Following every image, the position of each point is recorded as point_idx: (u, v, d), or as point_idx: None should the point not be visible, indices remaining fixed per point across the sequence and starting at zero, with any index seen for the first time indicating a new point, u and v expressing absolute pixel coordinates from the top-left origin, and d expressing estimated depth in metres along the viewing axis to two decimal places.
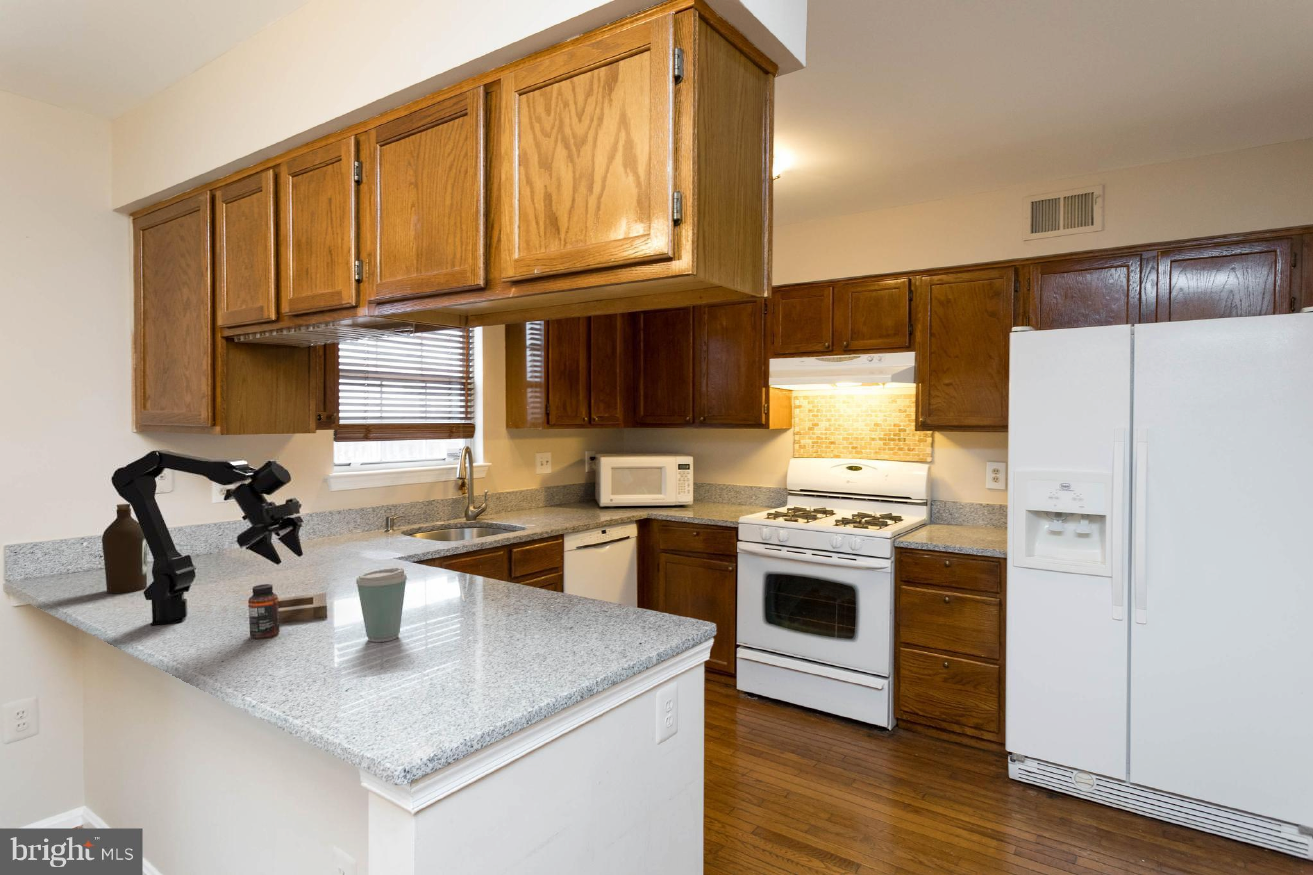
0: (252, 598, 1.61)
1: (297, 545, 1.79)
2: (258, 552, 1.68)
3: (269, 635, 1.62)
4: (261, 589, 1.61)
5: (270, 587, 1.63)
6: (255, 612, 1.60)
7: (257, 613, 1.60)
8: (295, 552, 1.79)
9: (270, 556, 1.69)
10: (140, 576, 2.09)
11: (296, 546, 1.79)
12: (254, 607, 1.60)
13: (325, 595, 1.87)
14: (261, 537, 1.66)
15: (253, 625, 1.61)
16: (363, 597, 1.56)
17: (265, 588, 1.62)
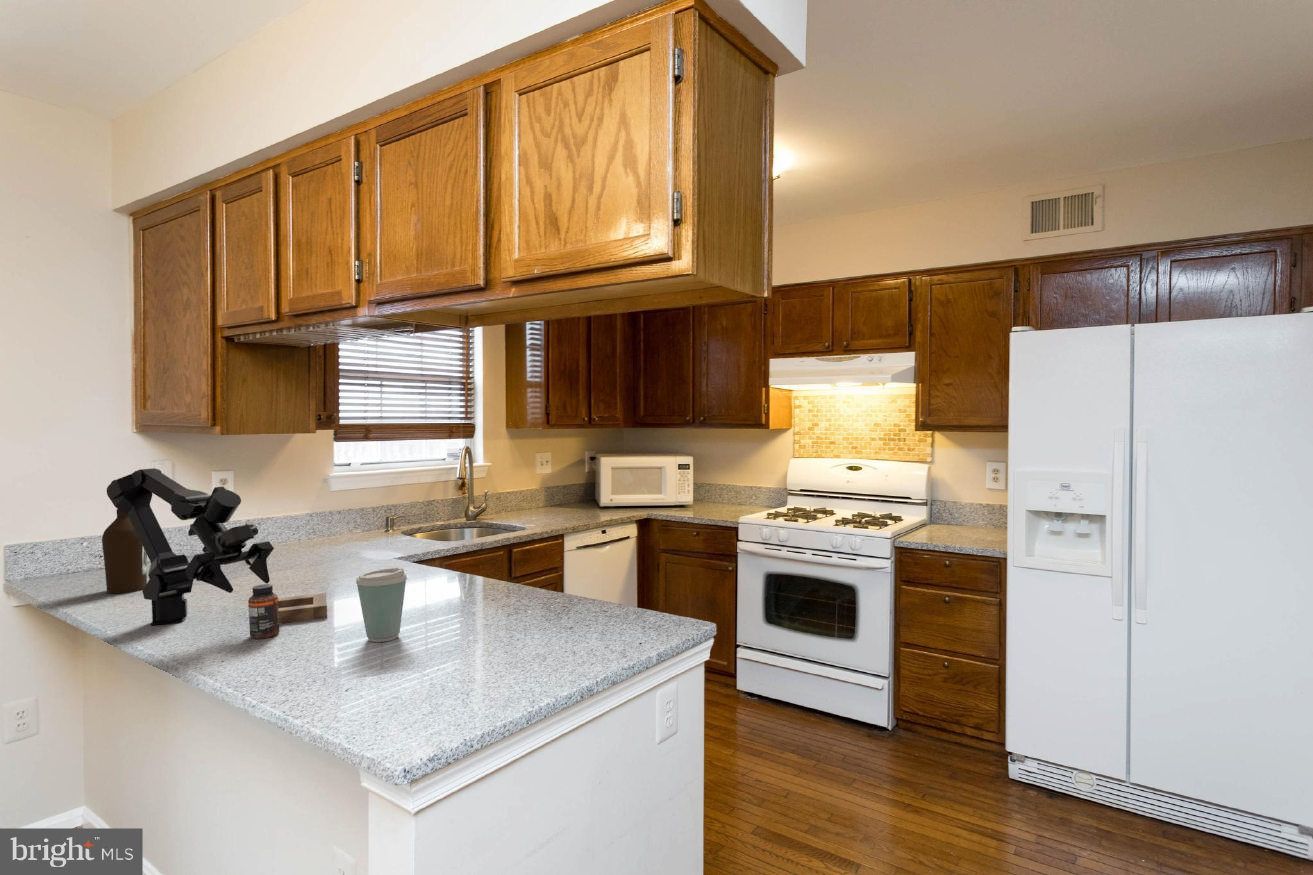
0: (252, 598, 1.61)
1: (263, 571, 1.69)
2: (210, 582, 1.61)
3: (269, 635, 1.62)
4: (261, 589, 1.61)
5: (270, 587, 1.63)
6: (255, 612, 1.60)
7: (257, 613, 1.60)
8: (263, 579, 1.69)
9: (221, 584, 1.61)
10: (140, 576, 2.09)
11: (262, 573, 1.70)
12: (254, 607, 1.60)
13: (325, 595, 1.87)
14: (205, 566, 1.59)
15: (253, 625, 1.61)
16: (363, 597, 1.56)
17: (265, 588, 1.62)
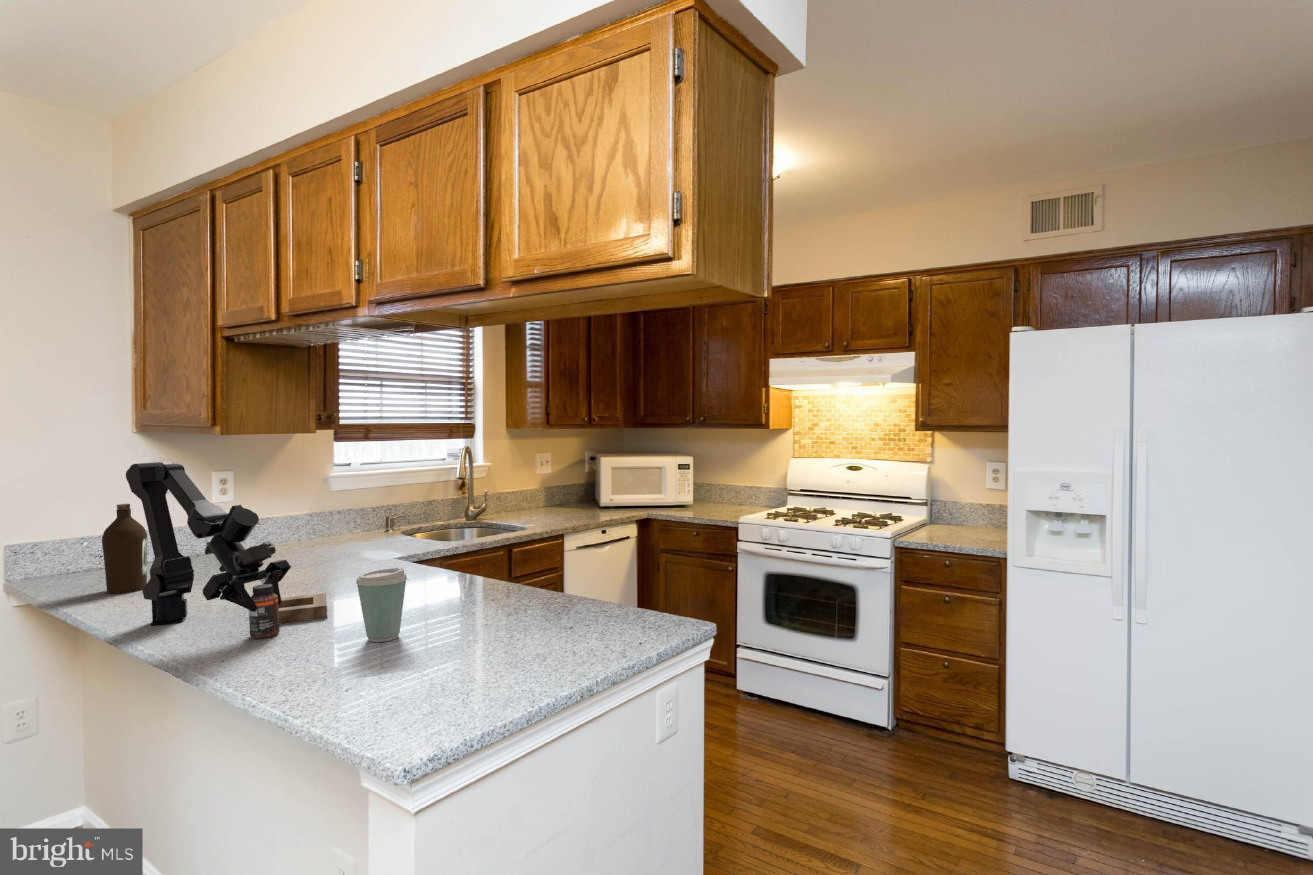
0: (252, 598, 1.61)
1: (275, 592, 1.66)
2: (234, 601, 1.60)
3: (269, 635, 1.62)
4: (261, 589, 1.61)
5: (270, 587, 1.63)
6: (255, 612, 1.60)
7: (257, 613, 1.60)
8: None
9: (245, 603, 1.60)
10: (140, 576, 2.09)
11: None
12: None
13: (325, 595, 1.87)
14: (229, 585, 1.58)
15: (253, 625, 1.61)
16: (363, 597, 1.56)
17: (265, 588, 1.62)
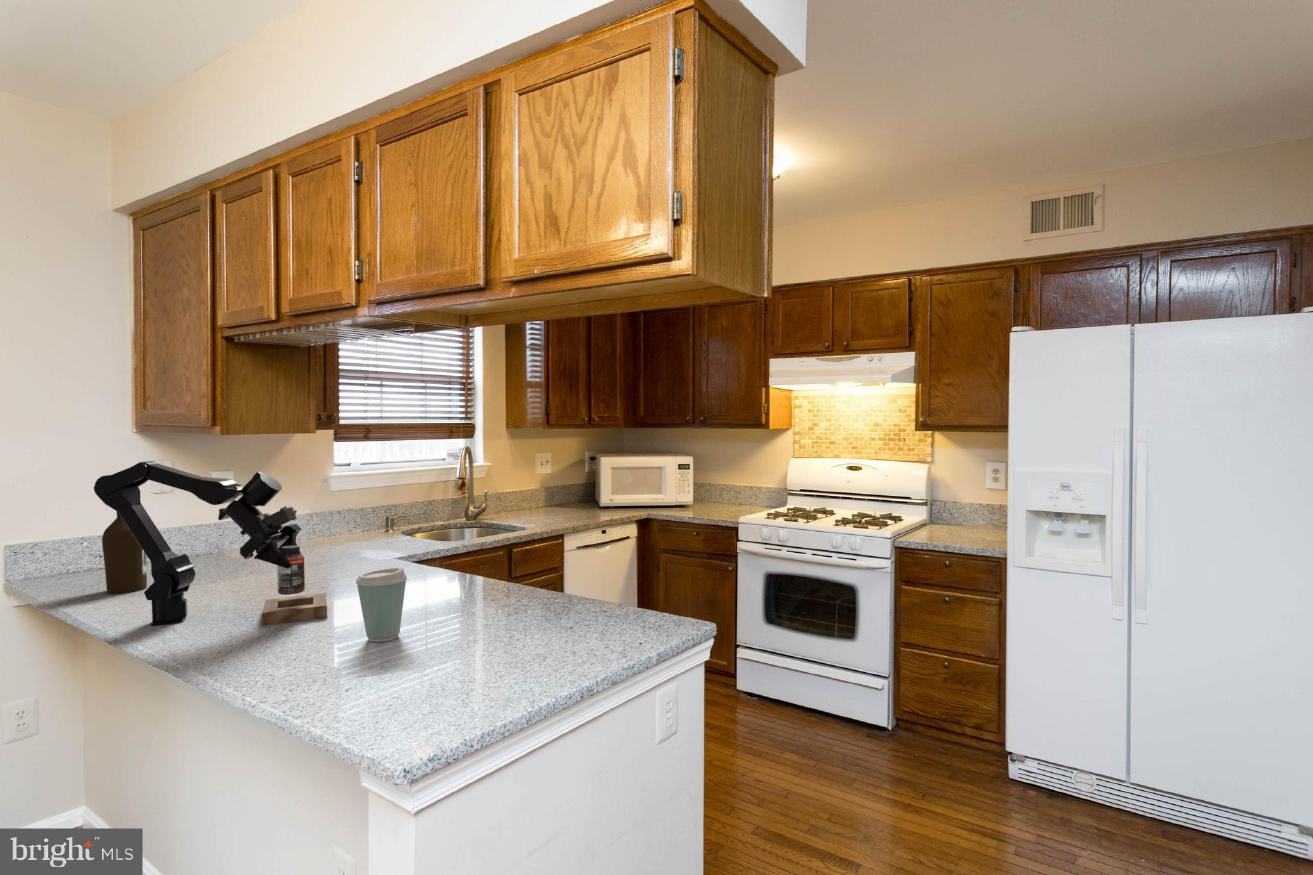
0: None
1: None
2: (267, 560, 1.72)
3: (300, 591, 1.76)
4: (293, 548, 1.75)
5: (299, 547, 1.77)
6: (288, 569, 1.74)
7: (290, 570, 1.74)
8: None
9: (279, 561, 1.73)
10: (140, 576, 2.09)
11: None
12: None
13: (325, 595, 1.87)
14: (267, 544, 1.70)
15: (286, 582, 1.74)
16: (363, 597, 1.56)
17: (296, 547, 1.76)
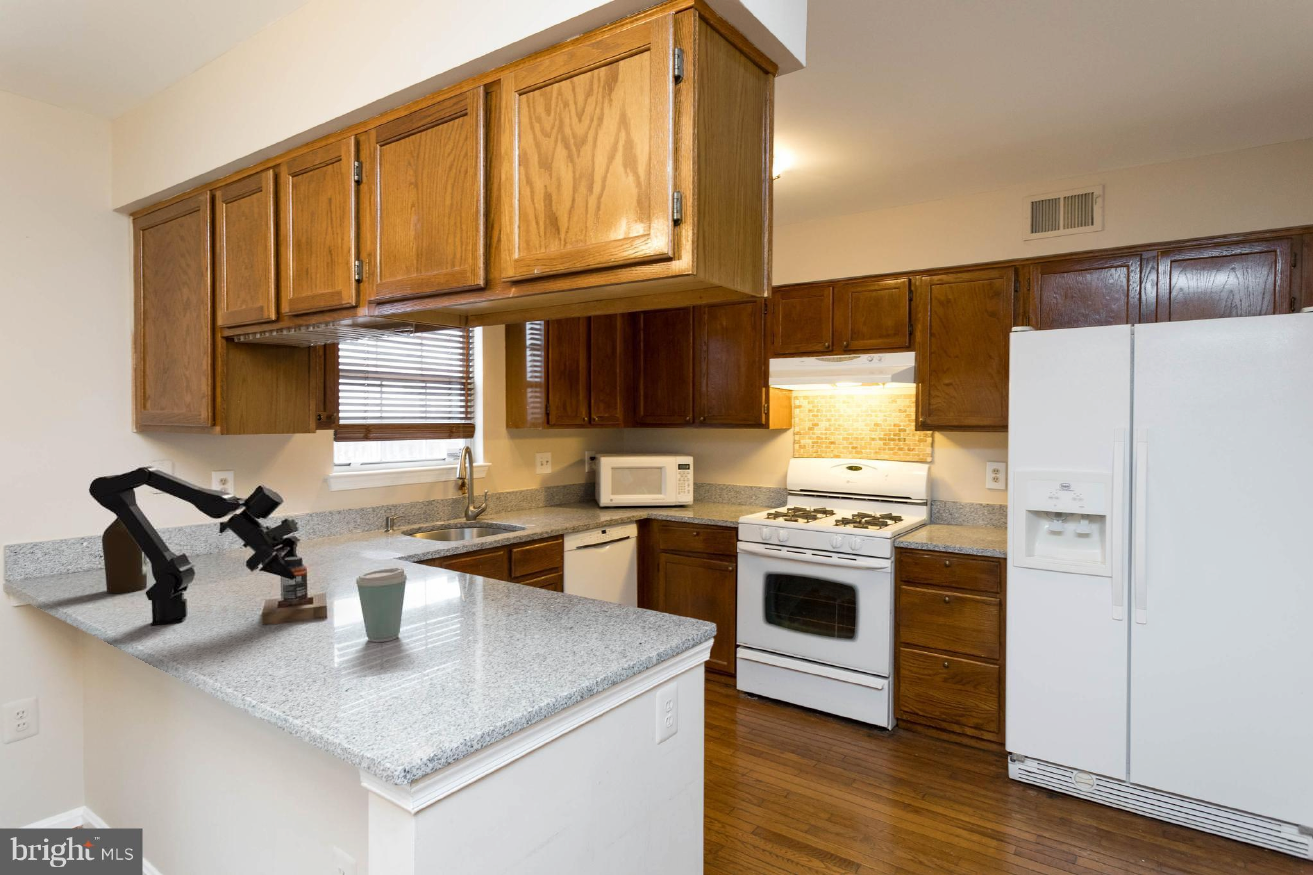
0: None
1: None
2: (272, 571, 1.75)
3: (304, 601, 1.80)
4: (297, 560, 1.79)
5: None
6: (293, 580, 1.78)
7: (295, 581, 1.78)
8: None
9: (283, 573, 1.76)
10: (140, 576, 2.09)
11: None
12: None
13: (325, 595, 1.87)
14: (273, 556, 1.73)
15: (290, 593, 1.77)
16: (363, 597, 1.56)
17: (299, 559, 1.80)
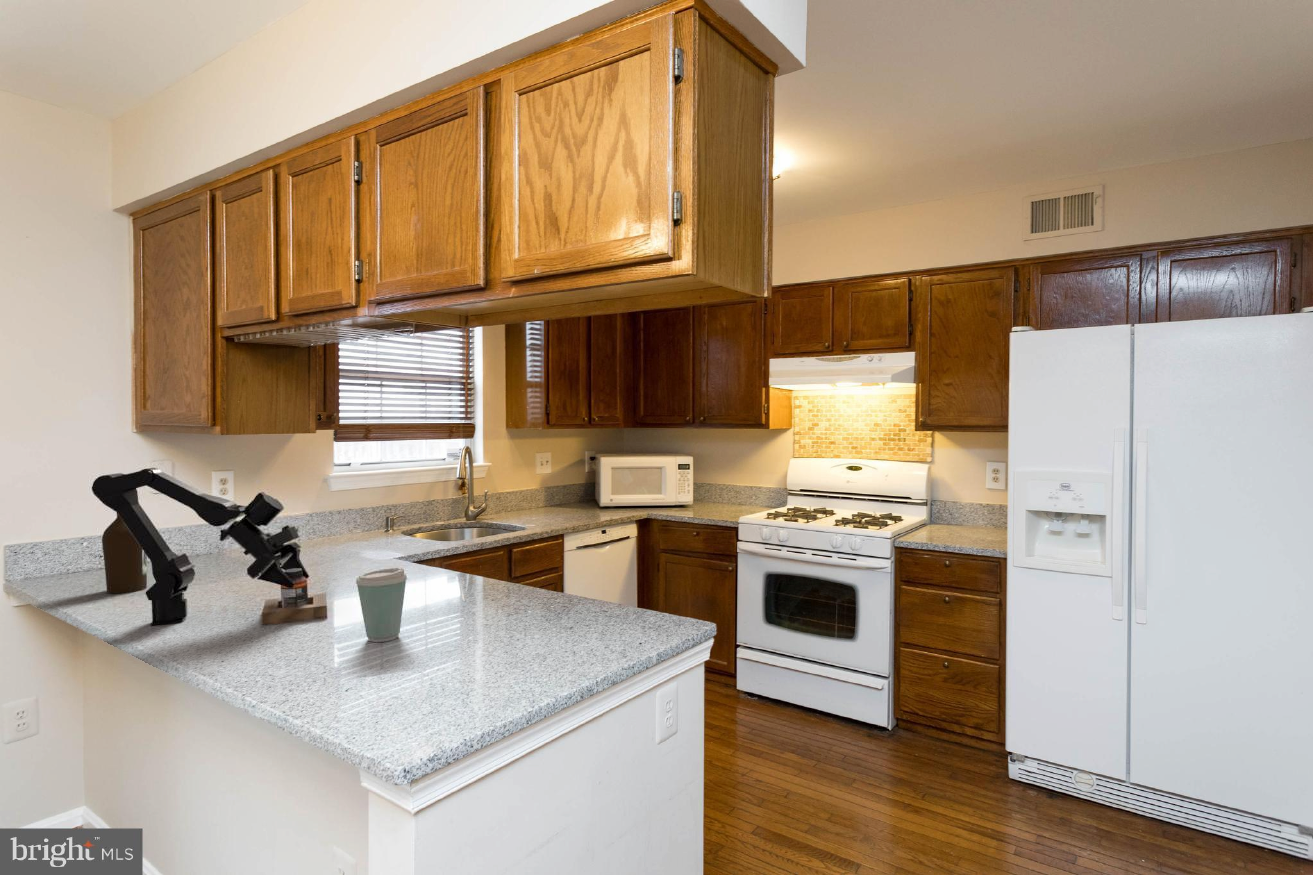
0: None
1: None
2: (270, 580, 1.74)
3: None
4: (296, 572, 1.79)
5: (301, 570, 1.81)
6: (293, 593, 1.78)
7: (295, 593, 1.78)
8: None
9: (282, 581, 1.75)
10: (140, 576, 2.09)
11: None
12: (293, 588, 1.77)
13: (325, 595, 1.87)
14: (271, 564, 1.72)
15: (291, 605, 1.77)
16: (363, 597, 1.56)
17: (299, 571, 1.79)
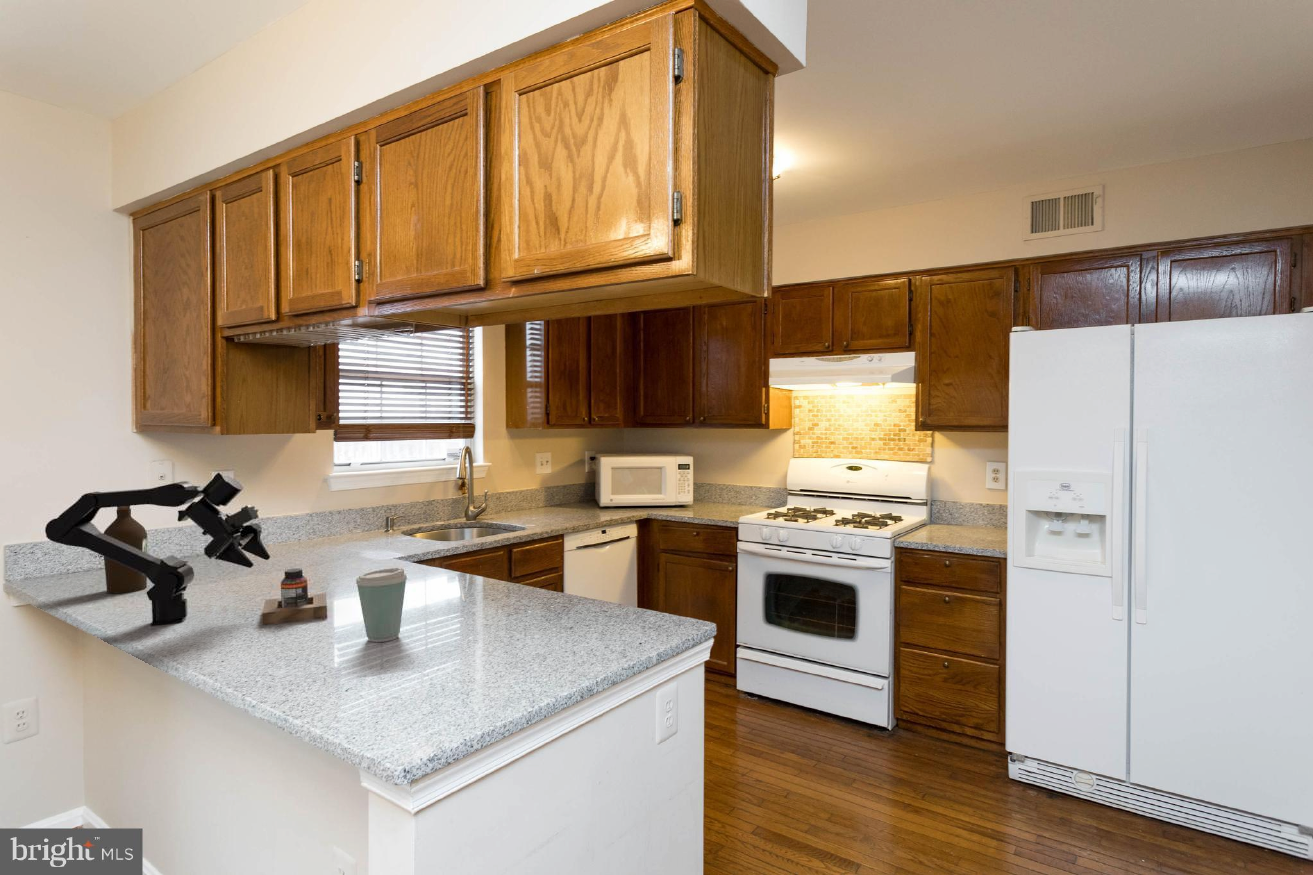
0: (288, 581, 1.78)
1: (262, 549, 1.84)
2: (228, 560, 1.73)
3: None
4: (297, 572, 1.79)
5: None
6: (293, 593, 1.78)
7: (295, 593, 1.78)
8: (262, 556, 1.84)
9: (240, 561, 1.74)
10: (140, 576, 2.09)
11: (262, 551, 1.84)
12: (293, 588, 1.77)
13: (325, 595, 1.87)
14: (228, 544, 1.71)
15: (291, 605, 1.77)
16: (363, 597, 1.56)
17: (299, 571, 1.79)
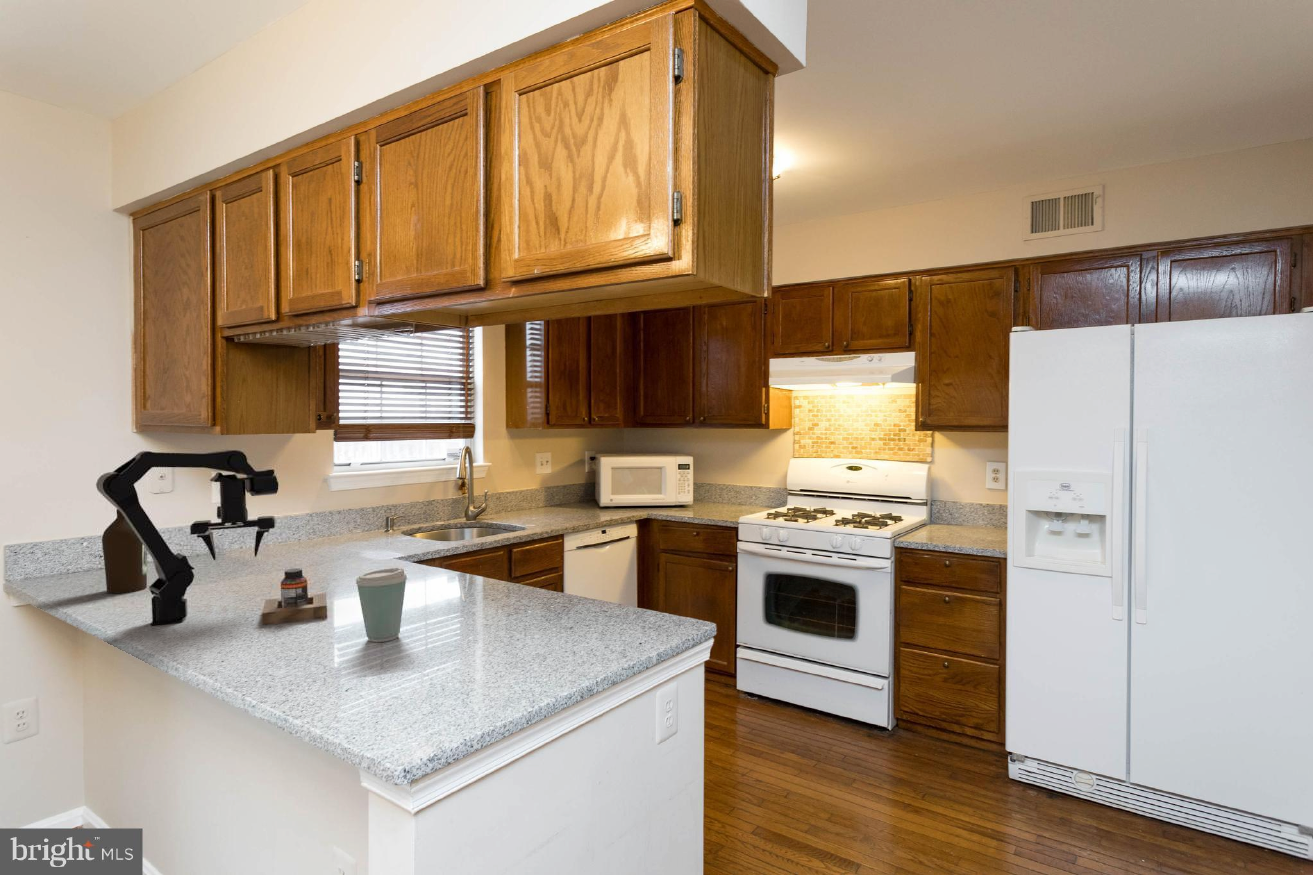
0: (288, 581, 1.78)
1: None
2: (261, 538, 1.89)
3: None
4: (297, 572, 1.79)
5: None
6: (293, 593, 1.78)
7: (295, 594, 1.78)
8: (215, 554, 1.85)
9: (258, 546, 1.90)
10: (140, 576, 2.09)
11: (214, 549, 1.86)
12: (293, 588, 1.77)
13: (325, 595, 1.87)
14: None
15: (291, 605, 1.77)
16: (363, 597, 1.56)
17: (299, 571, 1.79)
